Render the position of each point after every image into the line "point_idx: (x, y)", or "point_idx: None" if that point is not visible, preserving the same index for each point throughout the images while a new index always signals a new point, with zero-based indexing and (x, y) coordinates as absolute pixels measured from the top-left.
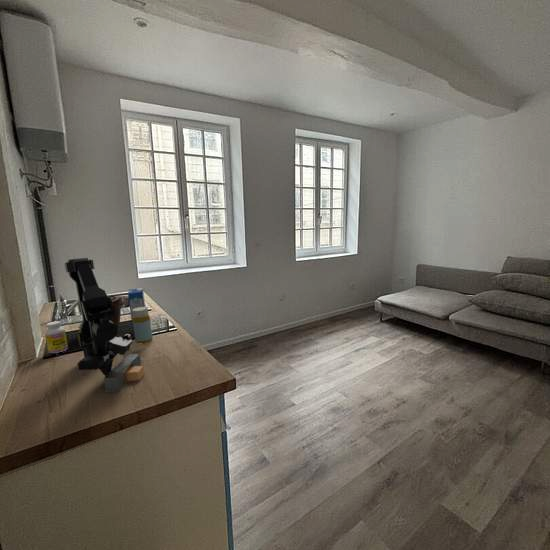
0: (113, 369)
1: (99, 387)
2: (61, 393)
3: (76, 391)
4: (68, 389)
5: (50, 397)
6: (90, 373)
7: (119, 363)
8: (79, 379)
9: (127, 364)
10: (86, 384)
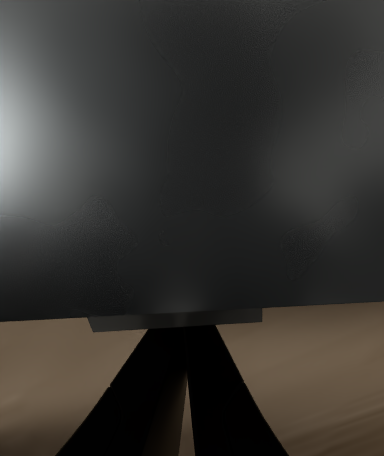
0: (347, 288)
1: None
2: (350, 434)
3: (351, 385)
4: (309, 428)
5: (380, 452)
6: None
7: (57, 310)
8: (190, 434)
9: (57, 46)
10: (261, 379)
